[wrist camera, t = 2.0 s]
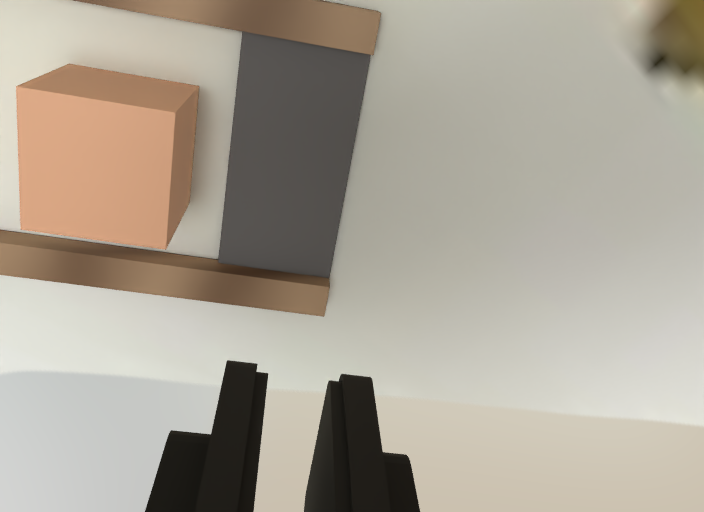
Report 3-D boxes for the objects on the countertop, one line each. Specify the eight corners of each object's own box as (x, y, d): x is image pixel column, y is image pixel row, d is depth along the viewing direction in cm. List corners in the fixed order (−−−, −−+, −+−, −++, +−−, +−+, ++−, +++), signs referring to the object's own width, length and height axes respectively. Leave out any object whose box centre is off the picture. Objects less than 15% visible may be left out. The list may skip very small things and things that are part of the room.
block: (199, 85, 26) (175, 112, 21) (189, 202, 28) (165, 249, 23) (69, 63, 25) (15, 86, 20) (69, 184, 27) (20, 229, 22)
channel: (377, 11, 25) (381, 13, 24) (323, 303, 30) (324, 316, 29) (-186, -97, 22) (-212, -100, 21) (-138, 242, 27) (-157, 254, 26)
